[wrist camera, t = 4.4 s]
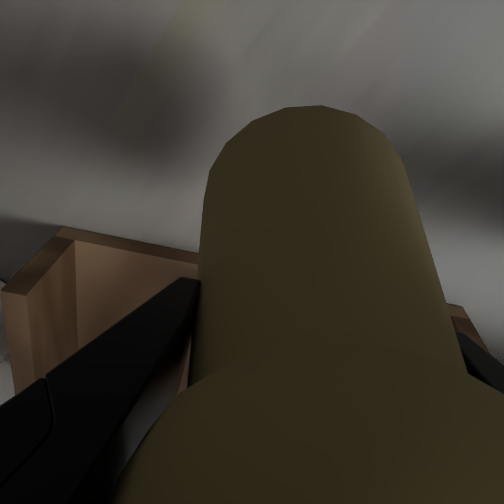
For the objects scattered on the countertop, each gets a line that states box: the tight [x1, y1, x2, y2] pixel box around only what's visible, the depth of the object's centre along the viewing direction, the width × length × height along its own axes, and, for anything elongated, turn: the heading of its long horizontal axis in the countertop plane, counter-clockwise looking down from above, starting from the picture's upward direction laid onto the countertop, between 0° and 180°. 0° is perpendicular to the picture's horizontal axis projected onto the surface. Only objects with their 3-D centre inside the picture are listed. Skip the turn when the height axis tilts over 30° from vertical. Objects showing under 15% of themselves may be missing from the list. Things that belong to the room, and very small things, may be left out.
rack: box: [0, 227, 491, 395], centre depth 22 cm, size 21×11×6 cm, turn 79°
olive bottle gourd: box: [108, 105, 504, 504], centre depth 8 cm, size 6×6×11 cm
